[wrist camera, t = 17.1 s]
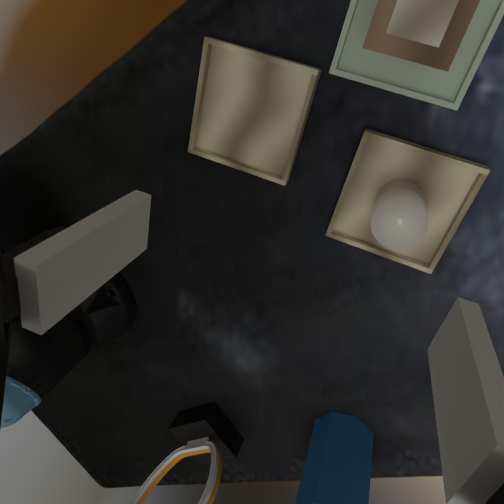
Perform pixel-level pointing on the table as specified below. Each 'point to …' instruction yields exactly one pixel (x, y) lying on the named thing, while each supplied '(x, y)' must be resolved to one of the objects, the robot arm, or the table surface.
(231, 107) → the tray
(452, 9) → the letter block
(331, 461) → the water bottle
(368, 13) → the tray
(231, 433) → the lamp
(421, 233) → the white dome
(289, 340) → the table surface
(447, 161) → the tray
